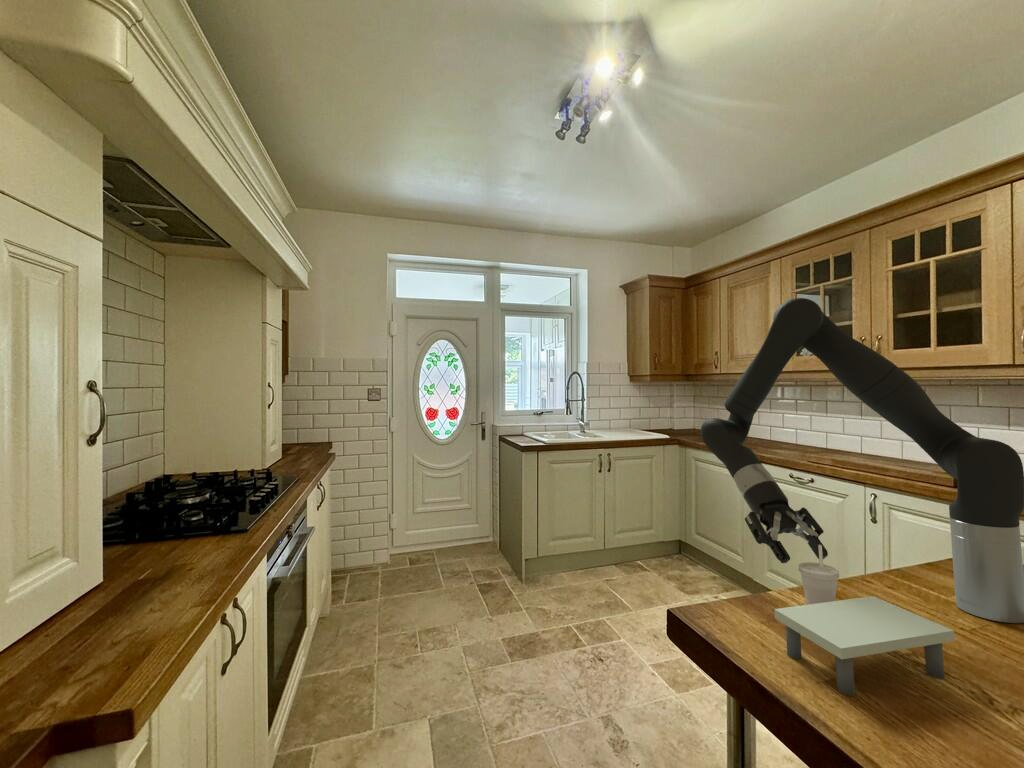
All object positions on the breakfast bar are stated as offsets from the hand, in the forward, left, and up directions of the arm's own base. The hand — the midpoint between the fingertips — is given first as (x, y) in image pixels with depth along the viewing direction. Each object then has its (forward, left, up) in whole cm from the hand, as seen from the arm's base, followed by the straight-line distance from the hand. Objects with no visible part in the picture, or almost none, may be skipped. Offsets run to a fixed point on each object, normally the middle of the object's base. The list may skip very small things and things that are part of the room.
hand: (805, 559), depth 86 cm
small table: (+6, +16, -10) cm, 20 cm away
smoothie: (0, +3, -11) cm, 11 cm away
